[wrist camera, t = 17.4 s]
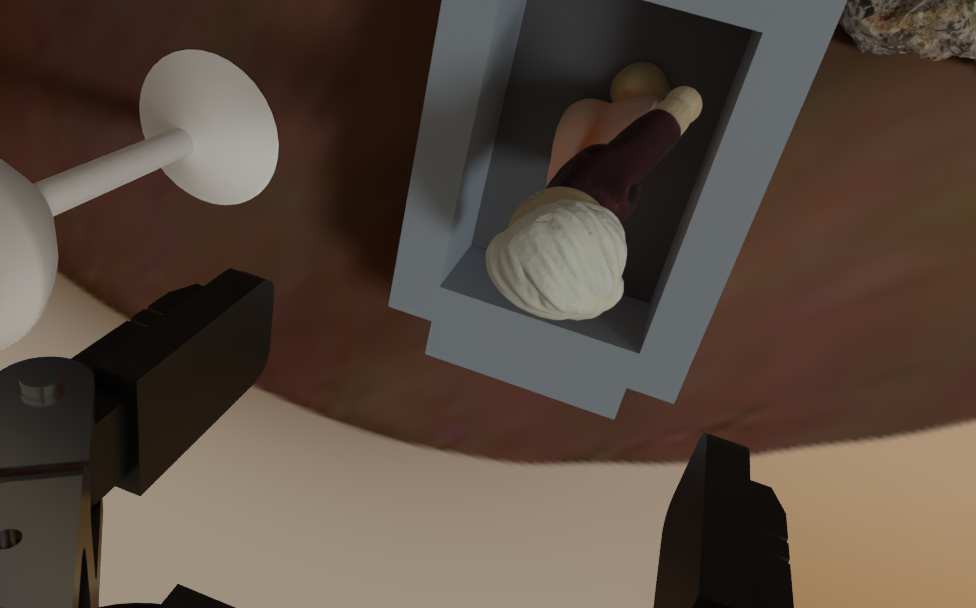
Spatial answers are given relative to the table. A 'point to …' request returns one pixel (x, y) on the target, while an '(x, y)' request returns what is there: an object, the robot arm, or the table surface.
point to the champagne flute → (140, 170)
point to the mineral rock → (912, 27)
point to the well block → (664, 191)
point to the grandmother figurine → (590, 197)
